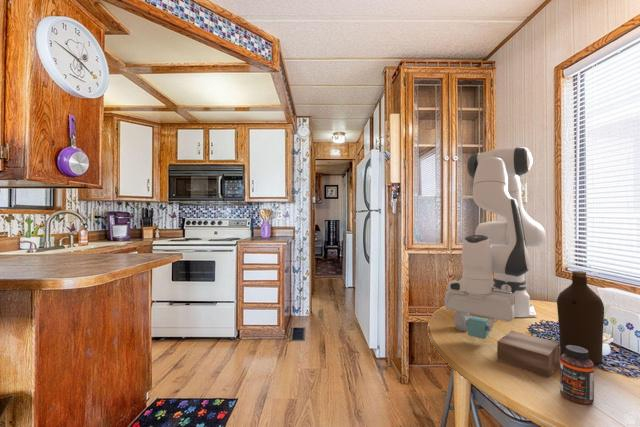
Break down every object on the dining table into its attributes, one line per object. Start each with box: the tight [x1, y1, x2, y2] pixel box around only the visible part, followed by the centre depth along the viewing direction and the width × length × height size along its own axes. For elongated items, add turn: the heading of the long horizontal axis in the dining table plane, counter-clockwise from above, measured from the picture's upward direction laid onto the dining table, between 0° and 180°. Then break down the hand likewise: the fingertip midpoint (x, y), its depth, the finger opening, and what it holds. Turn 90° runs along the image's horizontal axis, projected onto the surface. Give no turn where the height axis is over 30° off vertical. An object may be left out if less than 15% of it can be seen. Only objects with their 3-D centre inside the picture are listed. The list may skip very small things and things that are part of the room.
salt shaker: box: [453, 311, 471, 332], centre depth 112 cm, size 6×6×13 cm
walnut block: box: [496, 330, 561, 379], centre depth 87 cm, size 12×12×6 cm
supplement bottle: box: [559, 345, 595, 405], centre depth 70 cm, size 6×6×11 cm
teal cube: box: [467, 315, 490, 340], centre depth 99 cm, size 5×5×5 cm
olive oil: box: [556, 270, 605, 365], centre depth 90 cm, size 11×11×25 cm
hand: (478, 328), depth 99 cm, fingers closed on teal cube, 5 cm apart
